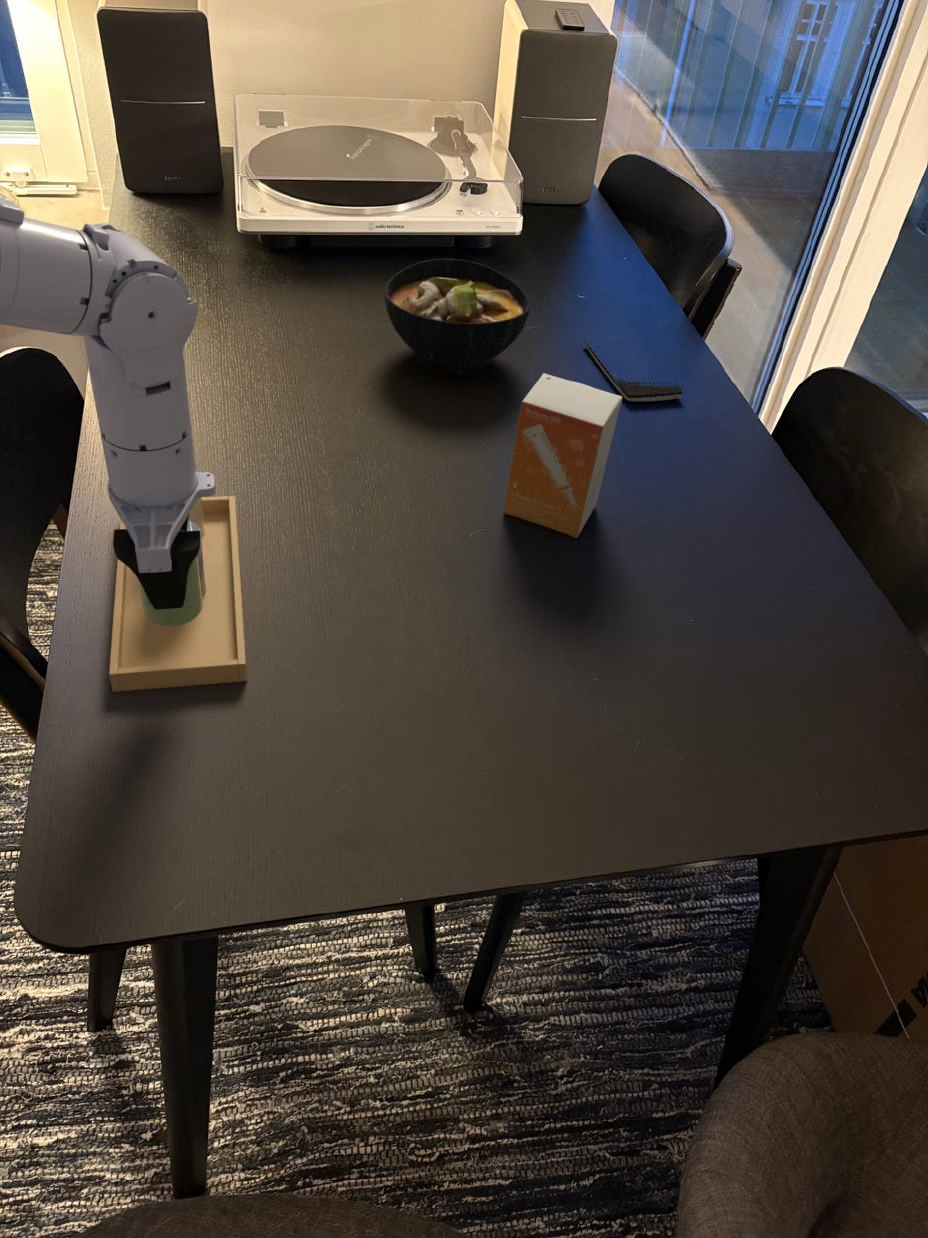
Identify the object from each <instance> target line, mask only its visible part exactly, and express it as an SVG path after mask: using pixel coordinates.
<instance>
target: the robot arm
mask: <svg viewBox="0 0 928 1238" xmlns="http://www.w3.org/2000/svg"><path fill="white" fill-rule="evenodd" d="M198 309H199V308H198V302H197V301H195V300H193V299H192V298H191V296H190V292H189V289H188V286H187V283H186V282H185V280H184V279H183V277H182V276H181V275H180V274H179V273H178V272H177V271H176V270H175V269H174V268H173V267H172V266H170V264H168V263H167V262H166V261H164V260H163V259H162V258H160V257H159V256H158V255H157V254H155V253H154V251H152V250H151V249H149V248H148V247H146V246H145V245H144V244H143V243H142V242H141V241H139V240H138V239H137V238H135V237H133V236H132V235H130V234H128V233H126V232H125V231H123V230H120V229H117V228H115V227H114V226H113V225H112V224H110V223H108V222H107V223H106V222H105V223H104V222H102V223H95V224H91V223H84V224H83V226H82V229H76V228H72V227H68V226H63V225H59V224H55V223H52V222H47V221H44V220H43V221H42V220H38V219H34V218H31V217H26V216H25V211H24V210H23V209H22V208H21V207H20V206H18V204H16V203H15V202H14V201H12V200H8V199H6V198H5V199H4V198H1V197H0V325H3V326H11V327H17V328H22V329H29V330H33V331H42V332H46V333H47V332H48V333H52V334H53V333H55V334H61V335H67V336H72V337H73V336H74V337H82V336H83V340H84V346H85V351H86V356H87V361H88V363H87V365H88V373H89V377H90V379H89V380H90V383H91V389H92V394H93V400H94V405H95V410H96V411H95V412H96V416H97V421H98V427H99V433H100V439H101V444H102V449H103V455H104V459H105V460H104V461H105V465H106V471H107V476H108V481H107V485H106V486H107V488H106V489H107V493H108V499H109V500H110V502H111V505H112V506H113V508H114V510H115V511H116V513H117V515H118V517H119V518H121V520H122V522H123V524H124V525H125V527H126V529H120V528H119V529H117V528H116V529H114V530H113V539H112V546H113V551H114V554H115V556H116V558H117V559H118V560H120V561H121V562H123V563H124V564H125V565H126V566H128V567H129V568H130V569H131V570H132V572H133V573H134V574H135V575H136V577H137V578H138V580H139V581H140V583H141V585H142V587H143V589H144V591H145V593H146V595H147V597H148V599H149V601H150V603H151V604H152V606H153V608H154V609H156V610H158V609H173V608H182V607H183V605H184V601H185V596H186V587H187V577H188V572H189V569H190V566H191V564H192V562H193V560H194V559H195V558H196V556H197V554H198V552H199V548H200V531H187V524H188V518H189V514H190V512H191V510H192V508H193V507H194V505H195V503H196V501H197V500H198V499H199V498H201V497H213V496H214V495H215V494H216V479H215V478H216V477H215V475H214V473H212V472H209V471H198V469H197V465H196V456H195V455H196V454H195V448H194V447H195V446H194V438H193V429H192V419H191V408H190V399H189V390H188V381H187V372H186V371H187V370H186V363H185V357H184V351H185V350H184V349H185V345H186V343H187V341H188V340H189V338H190V336H191V334H192V332H193V330H194V327H195V325H196V322H197V319H198V318H197V317H198ZM180 529H181V530H184V531H181V532H179V530H180Z"/></svg>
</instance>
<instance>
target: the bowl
mask: <svg viewBox="0 0 928 1238" xmlns="http://www.w3.org/2000/svg"><path fill="white" fill-rule="evenodd" d="M384 303H385V308H386V309H385V310H386V312H387V315H388V318H389V320H390V322H391V325H392V327H393V329H394V330H395V332H396V333H397V335H398V336H399V337H400V339H401V340H402V341H403V342H404V344H405V345H406V346H407V347H408V348H410V349H411V350H412V351H413V352H414V353H415V356H416V358H417V359H418V361H419V363H420V364H421V365H422V366H423V367H424V368H425V369H427V370H429V371H431V372H433V373H436V374H439V375H444V376H453V377H463V376H464V377H466V376H470V375H475V374H476V373H479V372H481V371H482V370H483V369H484V368H485V367H486V366H487V364H488V363H489V362H490V361H491V360H493V359H495V358H496V357H497V356H499V355H501V354H502V353H503V352H504V351H505V350H506V349H507V348H509V347H510V346H511V345H513V343H514V342H516V339H518V337H519V336H520V334H521V333H522V331H523V330H524V327H525V324H526V323H527V320H528V317H529V314H530V308H531V300H530V298H529V296H528V295H527V293H526V292H525V290H524V289H523V288H522V287H520V285H518V284H517V283H516V282H514V280H512V279H510V278H509V277H507V275H505V274H504V273H502V272H501V271H498V270H496V269H494V268H492V267H491V266H488V265H485V264H482V263H479V262H476V261H471V260H465V259H459V258H433V259H427V260H423V261H419V262H417V263H416V262H415V263H413V264H410V265H408V266H406V267H405V268H403V269H401V270H399V271H398V272H396V273H395V274H394V275H393V276H391V278H390V279H389V280H388V281H387V284H386V285H385V289H384Z"/></svg>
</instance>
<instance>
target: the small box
mask: <svg viewBox="0 0 928 1238" xmlns="http://www.w3.org/2000/svg"><path fill="white" fill-rule="evenodd" d="M622 401H623V395H618V394H615V393H611V392H608V391H605V390H601V389H599V388H595V387H593V386H590V385H587V384H584V383H581V382H578V381H572V380H568V379H565V378H562V377H558V376H555V375H551V374H548V373H545V372H544V373H542V374H541V376H540V378H539V379H538V380H537V381H536V383H535V384H534V385H533V386H532V388H531V389H530V390H529V392H528V393H527V394H526V396H524V399H523V400H522V401H521V406H520V412H519V417H518V422H517V428H516V434H515V440H514V441H515V442H514V446H513V450H512V451H513V452H512V457H511V463H510V469H509V474H508V481H507V486H506V487H507V488H506V493H505V498H504V499H505V500H504V505H503V514H505V515H508V516H512V517H515V518H518V519H521V520H524V521H527V522H530V523H533V524H536V525H539V526H542V527H544V528H548V529H550V530H553V531H556V532H558V533H559V532H560V533H562V534H565V535H568V536H569V537H572V538H575V539H577V538H579V535H580V534H581V532H582V530H583V528H584V527H585V525H586V523H587V522H588V519H589V518H590V516H591V514H592V513H593V512H594V509H595V507H596V505H597V502H598V498H599V496H600V495H599V494H600V491H601V487H602V484H603V483H602V482H603V479H604V475H605V470H606V467H607V462H608V457H609V453H610V449H611V445H612V441H613V439H614V438H613V437H614V433H615V429H616V424H617V421H618V417H619V413H620V409H621V405H622Z"/></svg>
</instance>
